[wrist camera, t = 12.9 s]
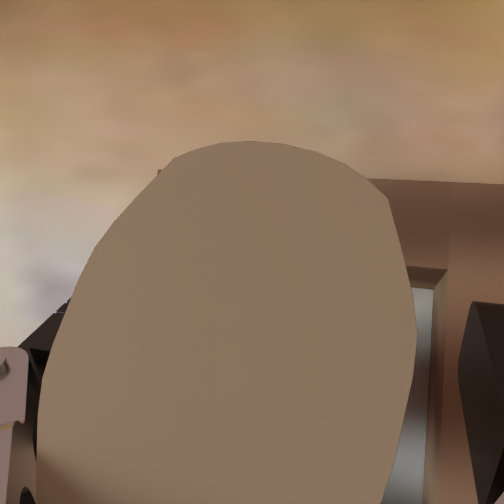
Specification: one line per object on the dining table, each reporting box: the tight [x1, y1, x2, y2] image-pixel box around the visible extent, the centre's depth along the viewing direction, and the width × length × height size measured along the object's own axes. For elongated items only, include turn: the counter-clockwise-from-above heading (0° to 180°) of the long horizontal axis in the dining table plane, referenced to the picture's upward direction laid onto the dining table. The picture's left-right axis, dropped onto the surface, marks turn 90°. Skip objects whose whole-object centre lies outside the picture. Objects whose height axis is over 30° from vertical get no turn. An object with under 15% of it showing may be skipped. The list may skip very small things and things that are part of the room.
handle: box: [36, 141, 417, 504], centre depth 13 cm, size 5×6×15 cm
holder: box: [157, 170, 504, 504], centre depth 18 cm, size 16×16×4 cm
